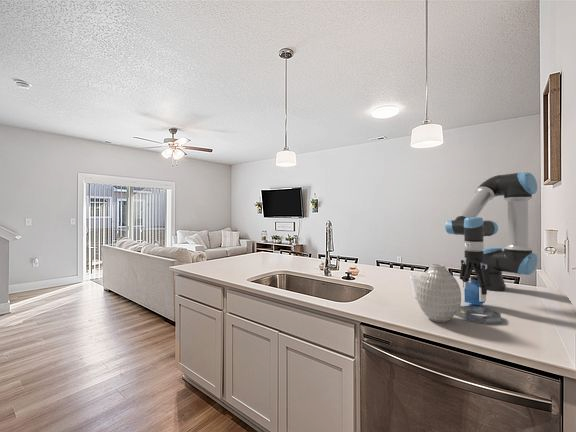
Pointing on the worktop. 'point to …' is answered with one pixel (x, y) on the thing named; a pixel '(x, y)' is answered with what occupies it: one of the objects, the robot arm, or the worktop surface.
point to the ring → (491, 316)
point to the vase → (438, 294)
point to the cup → (414, 283)
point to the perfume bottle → (472, 291)
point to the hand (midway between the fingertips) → (474, 298)
